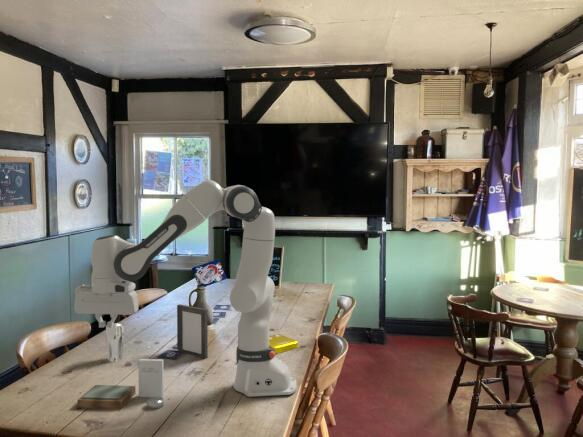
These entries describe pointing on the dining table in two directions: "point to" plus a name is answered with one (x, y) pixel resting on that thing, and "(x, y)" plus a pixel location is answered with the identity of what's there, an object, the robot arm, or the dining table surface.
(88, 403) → the mirror
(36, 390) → the dining table surface
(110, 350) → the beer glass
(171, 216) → the robot arm
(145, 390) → the external hard drive
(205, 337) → the picture frame
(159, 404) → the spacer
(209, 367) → the dining table surface
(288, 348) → the element tile
